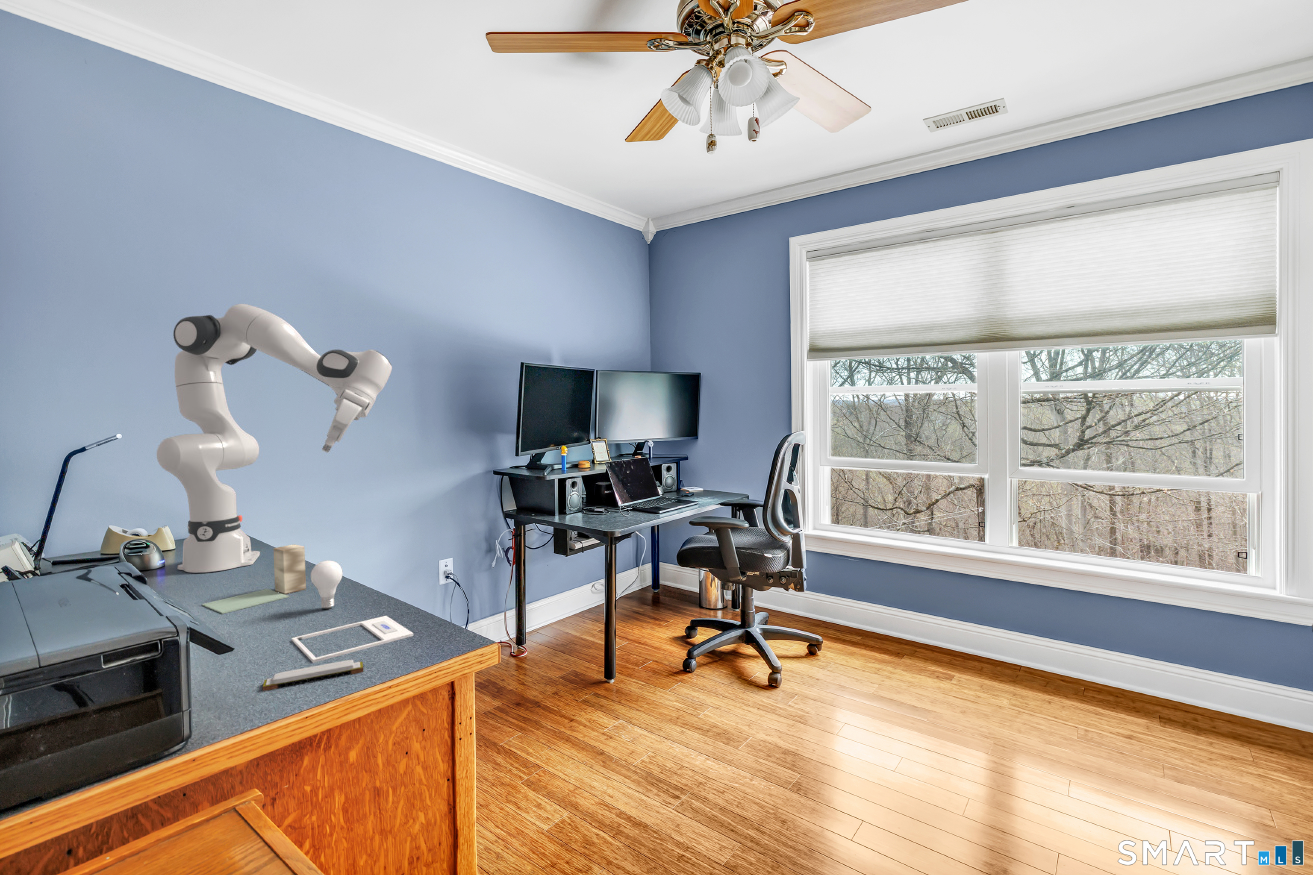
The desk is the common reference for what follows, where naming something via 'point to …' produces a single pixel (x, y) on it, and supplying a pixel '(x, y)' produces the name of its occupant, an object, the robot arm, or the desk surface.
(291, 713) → the desk surface
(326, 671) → the harmonica
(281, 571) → the birch block
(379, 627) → the photo frame
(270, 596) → the mat
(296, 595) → the desk surface
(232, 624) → the desk surface
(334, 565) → the lightbulb
